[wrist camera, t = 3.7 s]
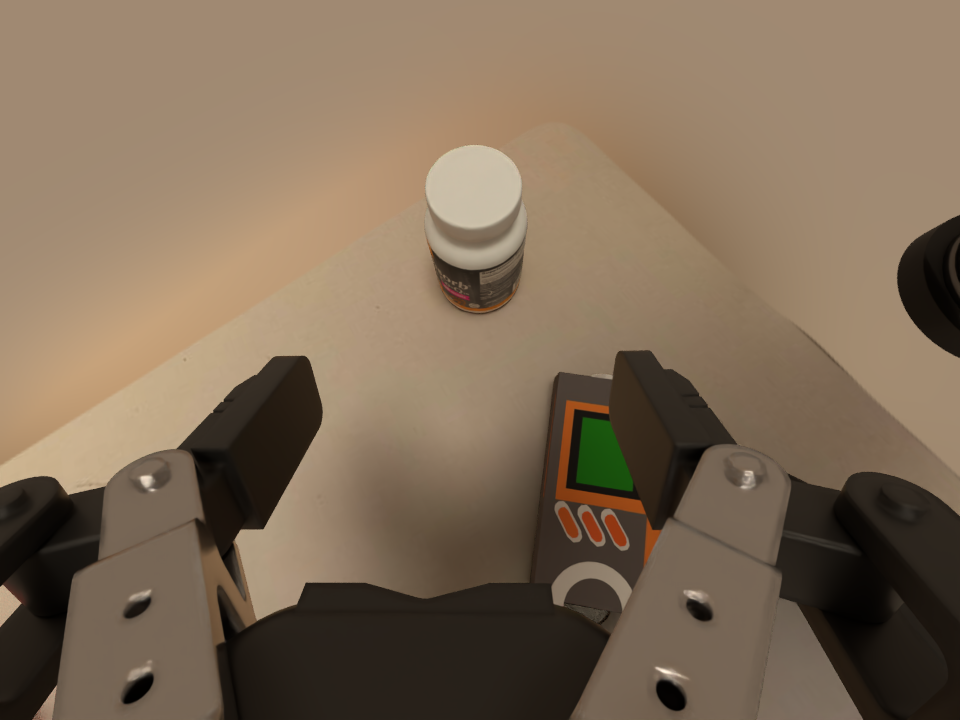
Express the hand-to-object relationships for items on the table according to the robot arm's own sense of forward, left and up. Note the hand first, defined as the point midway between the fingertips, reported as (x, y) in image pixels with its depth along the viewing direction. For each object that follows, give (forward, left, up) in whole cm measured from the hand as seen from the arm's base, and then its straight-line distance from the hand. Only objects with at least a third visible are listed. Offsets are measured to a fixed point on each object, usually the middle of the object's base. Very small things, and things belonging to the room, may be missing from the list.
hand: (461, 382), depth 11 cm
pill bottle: (-2, -11, -16) cm, 20 cm away
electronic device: (-6, +6, -16) cm, 18 cm away
